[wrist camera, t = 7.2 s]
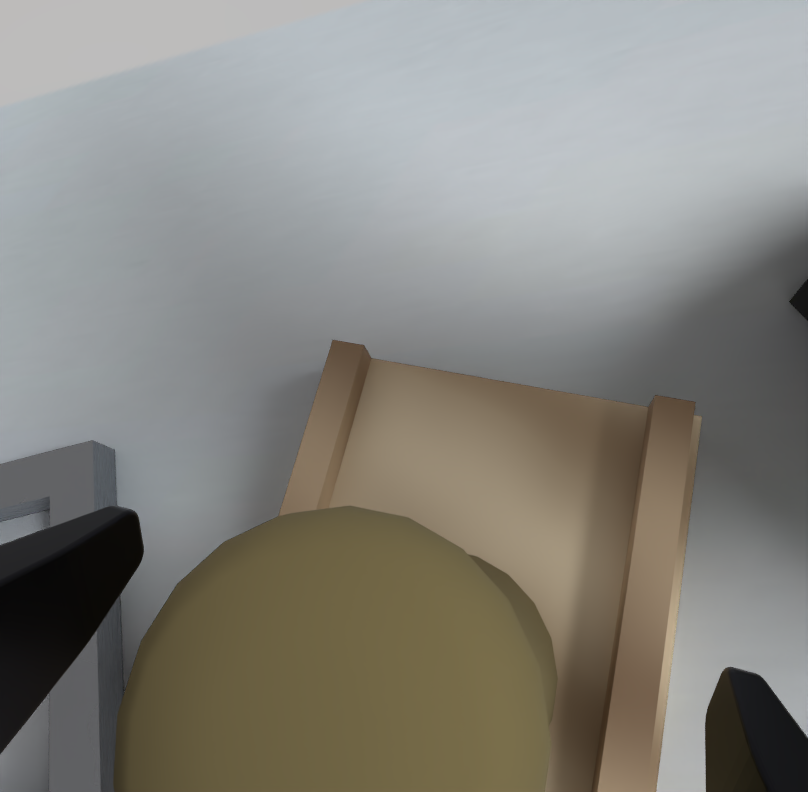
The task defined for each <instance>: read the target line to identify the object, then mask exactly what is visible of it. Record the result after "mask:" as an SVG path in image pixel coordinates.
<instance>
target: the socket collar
mask: <svg viewBox="0 0 808 792" xmlns="http://www.w3.org/2000/svg"><path fill="white" fill-rule="evenodd" d="M112 505H114V506H117V501H116V473H115V450H114V449H112V448H110V447H107V446H105V445H103V444H100V443H98V442H96V441H93V440H92V441H88V442H84V443H80V444H76V445H72V446H68V447H65V448H61V449H57V450H53V451H49V452H45V453H41V454H38V455H34V456H30V457H26V458H22V459H18V460H14V461H11V462H7V463H3V464H0V521H4V520H8V519H12V518H16V517H20V516H24V515H28V514H32V513H36V512H40V511H44V510H48V509H50V527H52V526H55V525H58V524H61V523H63V522H66V521H69V520H72V519H74V518H77V517H80V516H83V515H85V514H88V513H91V512H94V511H97V510H99V509H102V508H105V507H108V506H112ZM123 696H124V695H123V667H122V640H121V612H120V595H119V597H118V599H117V600H116V602H115V603H114V605H113V606H112V608H111V609H110V611H109V612H108V614H107V615H106V617H105V619H104V620H103V622H102V623H101V625H100V626H99V628H98V629H97V631H96V632H95V634H94V635H93V637H92V638H91V639H90V641H89V642H88V644H87V645H86V646H85V648H84V649H83V650H82V652H81V653H80V654H79V656H78V657H77V658H76V659H75V661H74V662H73V663H72V665H71V666H70V667H69V668H68V670H67V671H66V672H65V673H64V675H63V676H62V677H61V678H60V680H59V681H58V682H57V683H56V685H55V686H54V687H53V688H52V690H51V691H50V692H49V792H115V791H114V786H113V779H114V762H115V745H116V728H117V714H118V711H119V708H120V705H121V702H122V699H123Z"/></svg>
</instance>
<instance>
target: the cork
mask: <svg viewBox="0 0 808 792" xmlns="http://www.w3.org/2000/svg"><path fill="white" fill-rule="evenodd" d="M557 682H558V676H557V670H556V664H555V658H554V651H553V645H552V639H551V636H550V634H549V632H548V630H547V628H546V626H545V624H544V622H543V620H542V618H541V616H540V614H539V612H538V609H537V607H536V605H535V603H534V602H533V601H532V600H531V599H530V597H529V596H528V595H527V594H526V593H525V592H524V591H523V590H522V589H521V588H520V587H519V585H518V584H517V583H516V582H515V581H514V580H513V579H512V578H511V577H510V576H509V575H508V574H507V573H505V572H503V571H501V570H500V569H498V568H496V567H495V566H493V565H491V564H489V563H488V562H486V561H484V560H482V559H481V558H479V557H477V556H473V555H468V554H467V553H466V552H465V551H464V549H462V548H461V547H459V546H457V545H455V544H454V543H452V542H450V541H448V540H447V539H445V538H443V537H442V536H440V535H438V534H436V533H435V532H433V531H431V530H429V529H428V528H426V527H424V526H423V525H421V524H419V523H417V522H416V521H414V520H412V519H410V518H409V517H404V516H399V515H394V514H389V513H384V512H379V511H375V510H370V509H365V508H360V507H355V506H342V507H334V508H327V509H319V510H311V511H303V512H295V513H289V514H285V515H281V516H278V517H276V518H274V519H272V520H269V521H267V522H265V523H263V524H261V525H259V526H257V527H255V528H252V529H250V530H248V531H246V532H244V533H242V534H240V535H238V536H236V537H233V538H231V539H229V540H227V541H225V542H223V543H222V544H221V545H220V546H219V547H218V548H217V549H216V550H215V551H213V552H212V553H211V554H210V555H209V556H208V557H207V558H206V559H205V560H203V561H202V562H201V563H200V564H199V565H198V566H197V567H196V568H195V569H193V570H192V571H191V572H190V573H189V574H188V575H187V576H186V577H185V578H183V579H182V580H181V581H180V582H179V583H178V584H177V585H176V587H175V588H174V590H173V592H172V593H171V595H170V596H169V598H168V599H167V601H166V603H165V604H164V606H163V607H162V609H161V610H160V612H159V614H158V615H157V617H156V618H155V620H154V621H153V623H152V625H151V626H150V628H149V629H148V631H147V632H146V634H145V636H144V637H143V639H142V640H141V643H140V646H139V649H138V652H137V655H136V658H135V661H134V664H133V667H132V671H131V674H130V677H129V680H128V683H127V686H126V689H125V692H124V696H123V699H122V702H121V705H120V708H119V711H118V714H117V728H116V745H115V762H114V779H113V786H114V791H115V792H545V788H546V781H547V774H548V767H549V760H550V752H551V745H552V743H551V737H550V730H549V725H550V723H551V721H552V718H553V710H554V703H555V696H556V689H557Z"/></svg>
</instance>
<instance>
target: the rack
mask: <svg viewBox="0 0 808 792" xmlns="http://www.w3.org/2000/svg"><path fill="white" fill-rule="evenodd" d="M694 410H695V402H693V401H687V400H681V399H675V398H670V397H664V396H658V395H655V396H654V398H653V400H652V402H651V403H650V405H649V407H646V406H640V405H635V404H629V403H623V402H617V401H612V400H606V399H600V398H595V397H589V396H583V395H578V394H572V393H566V392H561V391H555V390H549V389H543V388H538V387H532V386H526V385H521V384H515V383H509V382H504V381H498V380H492V379H487V378H481V377H475V376H470V375H464V374H458V373H452V372H447V371H441V370H435V369H430V368H424V367H418V366H413V365H407V364H401V363H396V362H390V361H384V360H379V359H373V358H371V356H370V355H369V353H368V351H367V349H366V348H365V346H364V345H360V344H354V343H348V342H342V341H336V340H333V341H332V344H331V347H330V350H329V353H328V357H327V360H326V363H325V366H324V370H323V373H322V376H321V379H320V383H319V386H318V389H317V392H316V396H315V399H314V402H313V405H312V409H311V412H310V415H309V418H308V422H307V425H306V428H305V431H304V435H303V438H302V441H301V444H300V448H299V451H298V454H297V457H296V461H295V464H294V467H293V470H292V474H291V477H290V480H289V483H288V487H287V490H286V493H285V496H284V500H283V503H282V506H281V509H280V513H279V516H281V515H285V514H289V513H295V512H303V511H311V510H319V509H327V508H334V507H342V506H355V507H360V508H365V509H370V510H375V511H379V512H384V513H389V514H394V515H399V516H404V517H409V518H410V519H412V520H414V521H416V522H417V523H419V524H421V525H423V526H424V527H426V528H428V529H429V530H431V531H433V532H435V533H436V534H438V535H440V536H442V537H443V538H445V539H447V540H448V541H450V542H452V543H454V544H455V545H457V546H459V547H461V548H462V549H464V551H465V552H466V553H467V554H468V555H473V556H477V557H479V558H481V559H482V560H484V561H486V562H488V563H489V564H491V565H493V566H495V567H496V568H498V569H500V570H501V571H503V572H505V573H507V574H508V575H509V576H510V577H511V578H512V579H513V580H514V581H515V582H516V583H517V584H518V585H519V587H520V588H521V589H522V590H523V591H524V592H525V593H526V594H527V595H528V596H529V597H530V599H531V600H532V601H533V602H534V603H535V605H536V607H537V609H538V612H539V614H540V616H541V618H542V620H543V622H544V624H545V626H546V628H547V630H548V632H549V634H550V636H551V639H552V645H553V651H554V658H555V664H556V670H557V676H558V682H557V689H556V696H555V703H554V710H553V718H552V721H551V723H550V725H549V730H550V737H551V743H552V745H551V752H550V760H549V767H548V774H547V781H546V788H545V792H656V788H657V780H658V771H659V763H660V755H661V747H662V739H663V731H664V722H665V714H666V706H667V698H668V690H669V682H670V673H671V665H672V657H673V649H674V641H675V633H676V624H677V616H678V608H679V600H680V592H681V584H682V575H683V567H684V559H685V551H686V543H687V535H688V526H689V518H690V510H691V502H692V494H693V486H694V477H695V469H696V461H697V453H698V445H699V436H700V428H701V420H702V416H697V415H694Z"/></svg>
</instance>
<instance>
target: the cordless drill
mask: <svg viewBox="0 0 808 792" xmlns="http://www.w3.org/2000/svg"><path fill="white" fill-rule="evenodd" d="M789 302H790V303H791V304H792V305H793V306H794V307H795V308H796V309H797V310H798V311H799V312H800V313H801V314H802V315H803V316H804V317H805V318H806V319H807V320H808V279H807V281H806V282H805V283H804V284H803V285H802V287H801V288H800V289H799V290H798V291H797V293H796V294H795V295H794V296H793V298H792V299H791V300H790V301H789Z"/></svg>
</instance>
